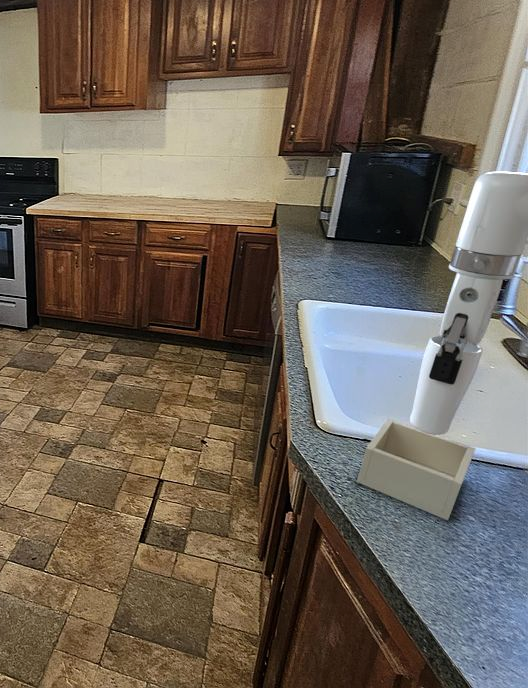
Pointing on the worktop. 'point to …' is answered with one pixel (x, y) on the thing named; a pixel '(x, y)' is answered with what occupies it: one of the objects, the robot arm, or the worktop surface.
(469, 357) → the drinking glass
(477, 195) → the robot arm
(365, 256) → the worktop surface
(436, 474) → the beige open box
